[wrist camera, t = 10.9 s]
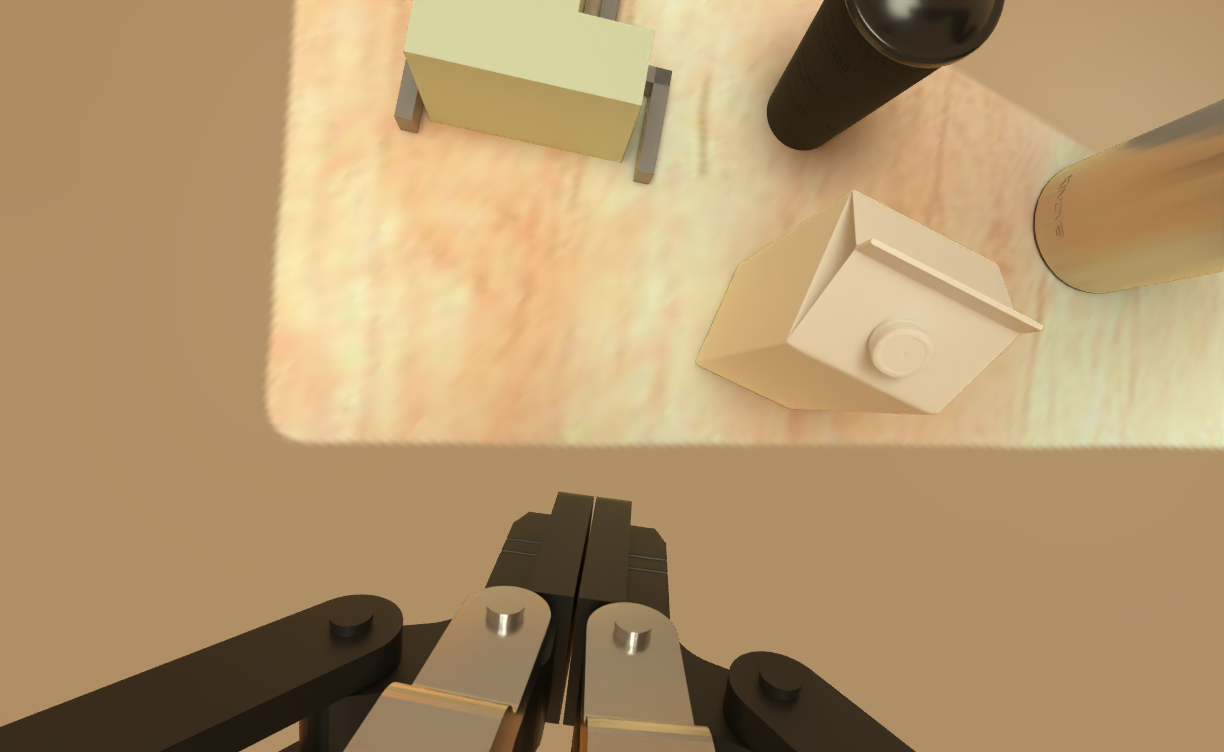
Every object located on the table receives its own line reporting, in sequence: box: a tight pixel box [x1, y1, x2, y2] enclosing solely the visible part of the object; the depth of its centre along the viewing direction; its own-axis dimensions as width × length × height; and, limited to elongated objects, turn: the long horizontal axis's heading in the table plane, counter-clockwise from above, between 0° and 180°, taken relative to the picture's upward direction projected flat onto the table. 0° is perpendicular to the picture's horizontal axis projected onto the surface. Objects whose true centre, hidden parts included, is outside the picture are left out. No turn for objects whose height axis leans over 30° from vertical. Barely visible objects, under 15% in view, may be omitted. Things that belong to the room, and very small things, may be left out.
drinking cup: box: [767, 0, 1004, 150], centre depth 32 cm, size 8×8×20 cm
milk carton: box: [696, 189, 1044, 415], centre depth 32 cm, size 7×7×19 cm
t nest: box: [394, 0, 672, 184], centre depth 39 cm, size 16×13×2 cm
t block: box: [403, 0, 654, 162], centre depth 36 cm, size 12×10×8 cm
